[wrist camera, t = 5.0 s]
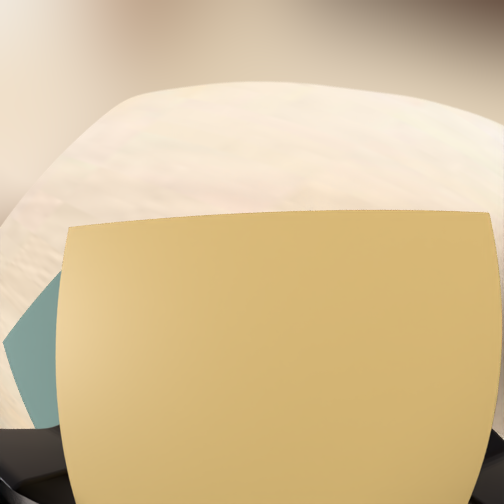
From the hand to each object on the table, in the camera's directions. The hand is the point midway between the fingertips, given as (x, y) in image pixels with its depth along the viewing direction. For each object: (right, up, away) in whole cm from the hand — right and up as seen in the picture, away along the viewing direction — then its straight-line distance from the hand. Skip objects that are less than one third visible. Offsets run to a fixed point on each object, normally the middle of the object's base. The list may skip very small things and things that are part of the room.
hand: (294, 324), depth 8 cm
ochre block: (+1, -3, +6) cm, 7 cm away
